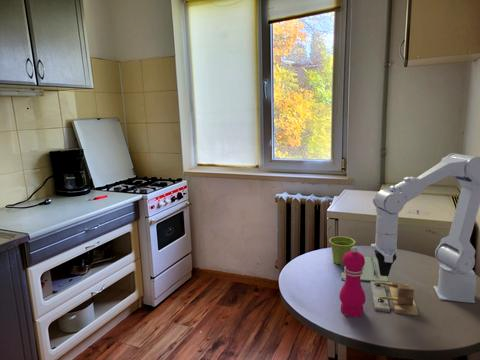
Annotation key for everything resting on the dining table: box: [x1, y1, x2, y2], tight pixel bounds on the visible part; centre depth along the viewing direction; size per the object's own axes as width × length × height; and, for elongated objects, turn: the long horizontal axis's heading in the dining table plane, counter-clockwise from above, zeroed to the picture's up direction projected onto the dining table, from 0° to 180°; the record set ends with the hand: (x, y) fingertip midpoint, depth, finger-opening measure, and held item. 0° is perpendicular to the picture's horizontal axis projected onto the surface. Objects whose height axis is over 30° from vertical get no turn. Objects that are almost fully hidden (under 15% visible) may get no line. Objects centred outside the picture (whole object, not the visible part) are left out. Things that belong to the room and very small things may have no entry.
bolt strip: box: [369, 281, 391, 313], centre depth 109 cm, size 4×16×1 cm, turn 164°
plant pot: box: [328, 235, 356, 266], centre depth 134 cm, size 9×9×9 cm
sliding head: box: [379, 284, 415, 305], centre depth 103 cm, size 9×2×5 cm, turn 74°
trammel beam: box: [375, 281, 419, 316], centre depth 108 cm, size 10×16×2 cm, turn 165°
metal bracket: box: [340, 255, 389, 283], centre depth 125 cm, size 14×6×15 cm
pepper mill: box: [339, 246, 367, 318], centre depth 100 cm, size 7×7×20 cm
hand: (384, 275), depth 103 cm, fingers closed
